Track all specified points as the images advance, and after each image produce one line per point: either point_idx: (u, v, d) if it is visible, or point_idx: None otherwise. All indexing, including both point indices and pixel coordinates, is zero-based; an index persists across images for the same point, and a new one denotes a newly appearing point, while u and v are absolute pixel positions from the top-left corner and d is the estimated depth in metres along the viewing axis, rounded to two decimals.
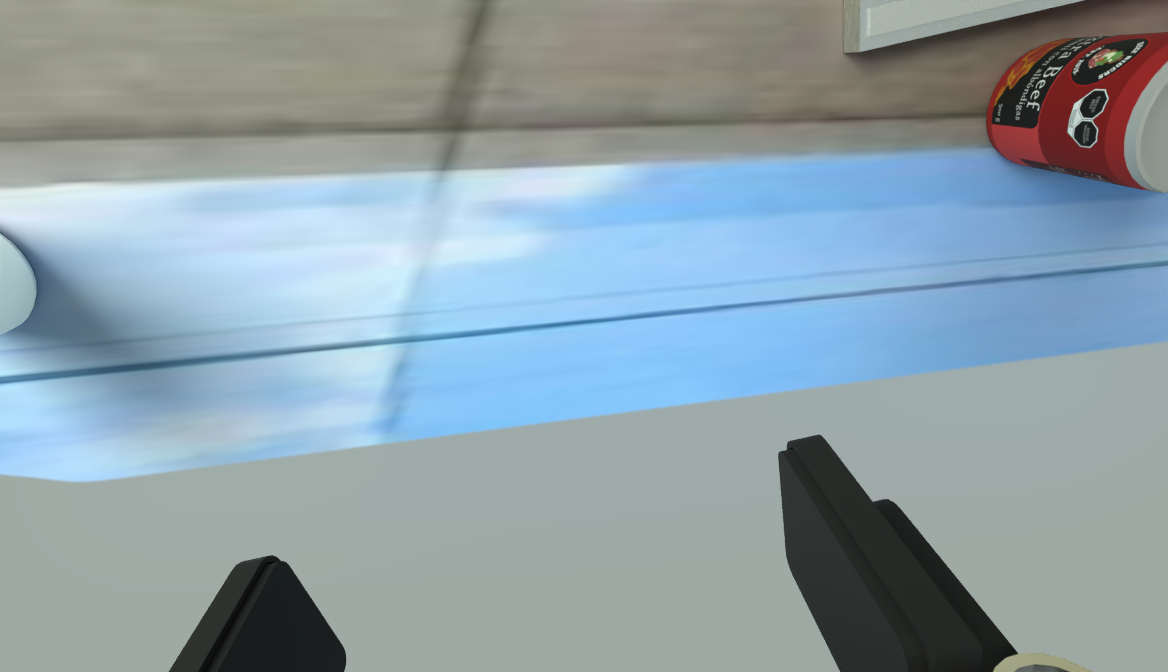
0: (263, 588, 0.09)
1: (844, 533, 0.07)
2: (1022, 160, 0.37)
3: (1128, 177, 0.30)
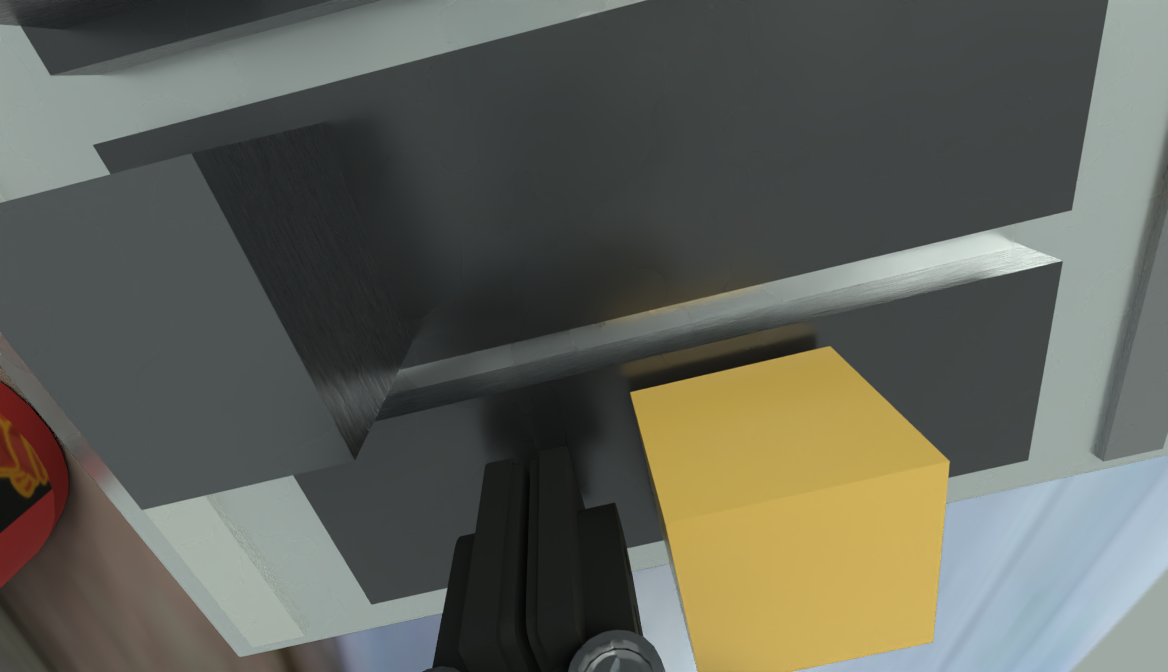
0: (522, 481, 0.10)
1: (535, 532, 0.09)
2: None
3: None
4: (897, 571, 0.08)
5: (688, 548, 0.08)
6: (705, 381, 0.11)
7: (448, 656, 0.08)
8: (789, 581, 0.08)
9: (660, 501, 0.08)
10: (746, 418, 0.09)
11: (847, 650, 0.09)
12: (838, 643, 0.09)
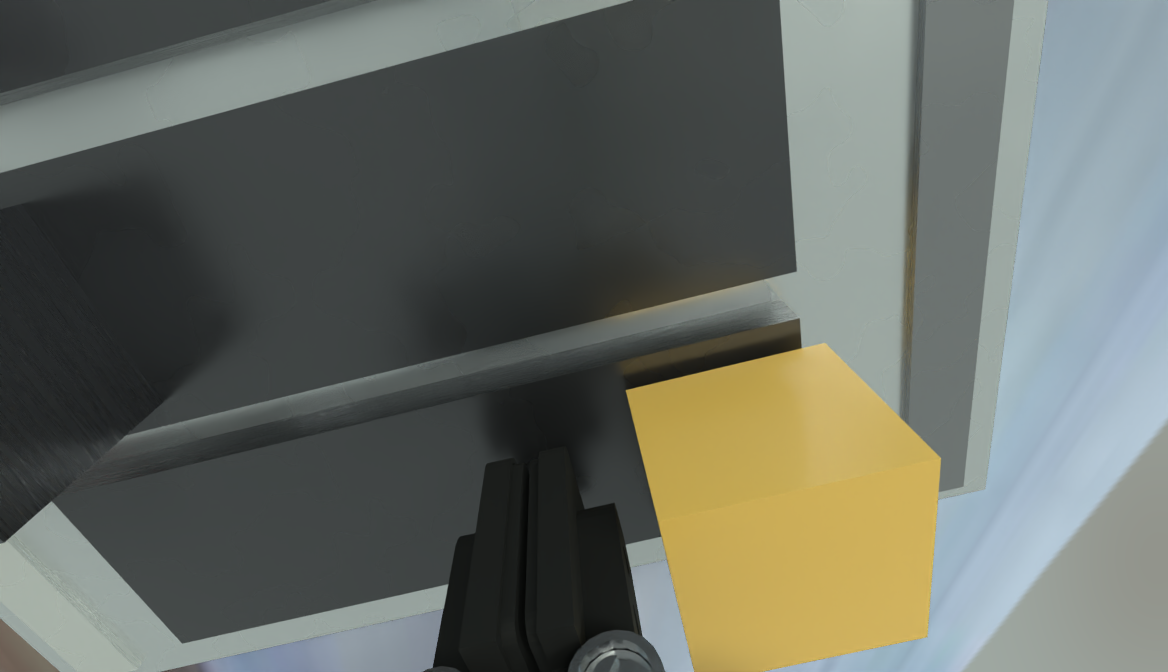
0: (522, 481, 0.10)
1: (534, 532, 0.09)
2: None
3: None
4: (890, 567, 0.08)
5: (681, 546, 0.08)
6: (700, 379, 0.11)
7: (448, 656, 0.08)
8: (782, 577, 0.08)
9: (653, 499, 0.08)
10: (740, 416, 0.09)
11: (841, 645, 0.09)
12: (832, 639, 0.09)
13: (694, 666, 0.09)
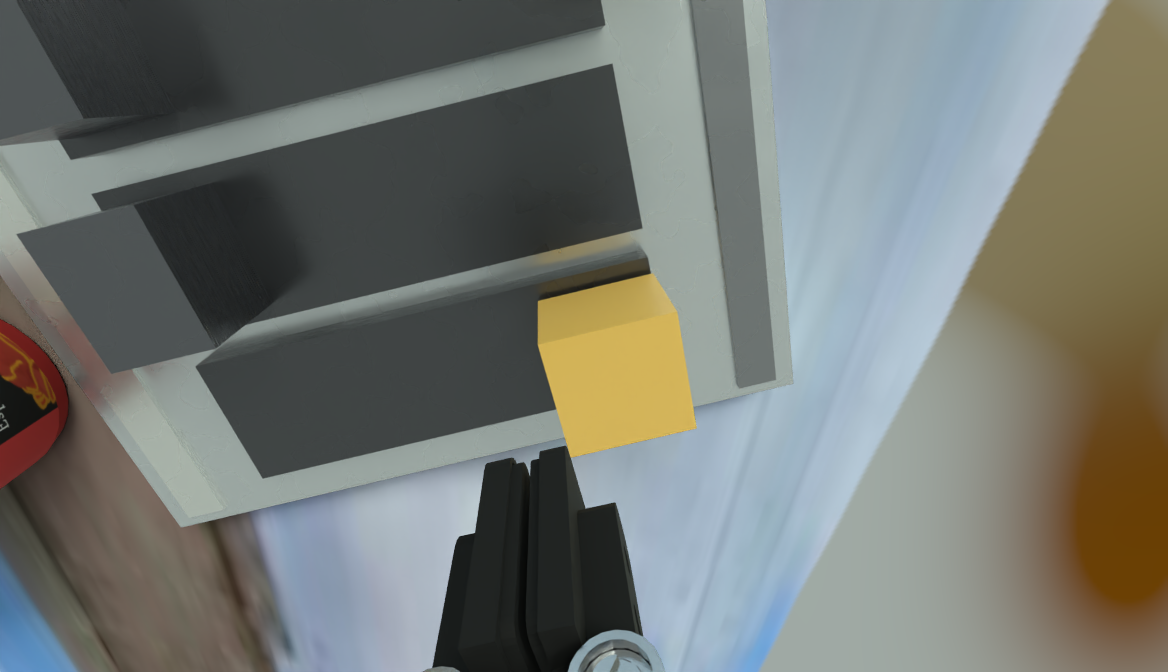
0: (522, 481, 0.10)
1: (535, 532, 0.09)
2: None
3: None
4: (665, 378, 0.16)
5: (550, 360, 0.15)
6: (580, 293, 0.18)
7: (448, 656, 0.08)
8: (607, 383, 0.16)
9: (538, 338, 0.16)
10: (593, 305, 0.17)
11: (648, 432, 0.17)
12: (642, 426, 0.17)
13: (567, 444, 0.17)
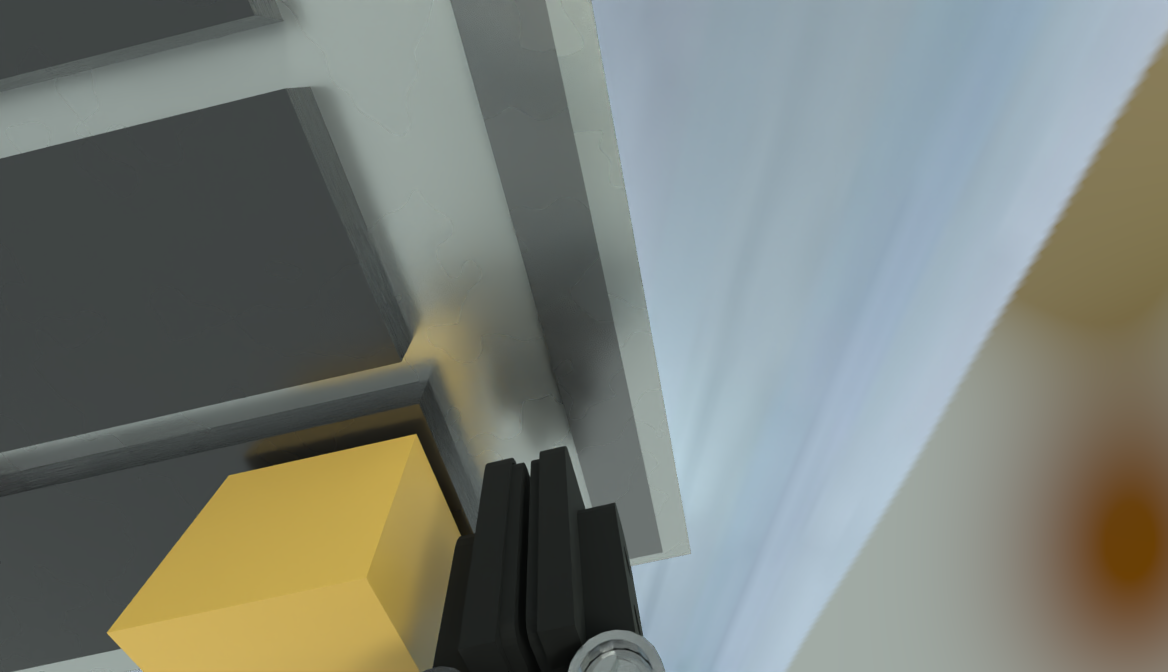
0: (522, 481, 0.10)
1: (535, 532, 0.09)
2: None
3: None
4: (374, 670, 0.09)
5: (144, 653, 0.08)
6: (292, 467, 0.11)
7: (448, 656, 0.08)
8: None
9: (128, 606, 0.08)
10: (278, 514, 0.10)
11: None
12: None
13: None
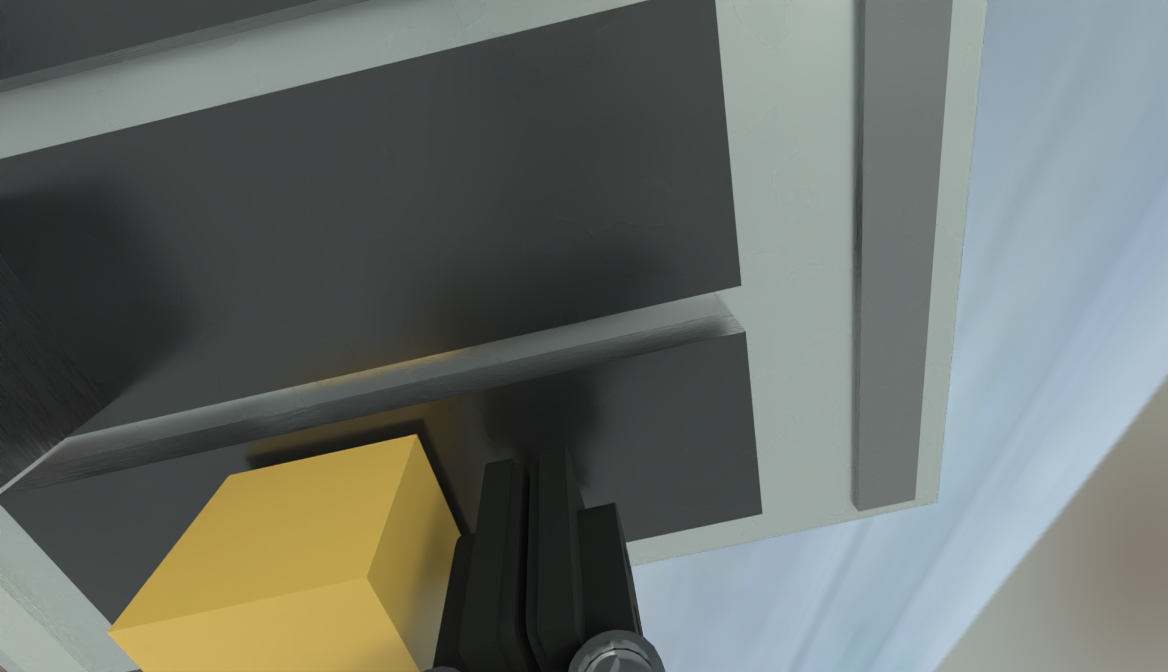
0: (522, 481, 0.10)
1: (535, 532, 0.09)
2: None
3: None
4: (375, 670, 0.09)
5: (143, 653, 0.08)
6: (292, 467, 0.11)
7: (448, 656, 0.08)
8: None
9: (128, 605, 0.08)
10: (278, 514, 0.10)
11: None
12: None
13: None
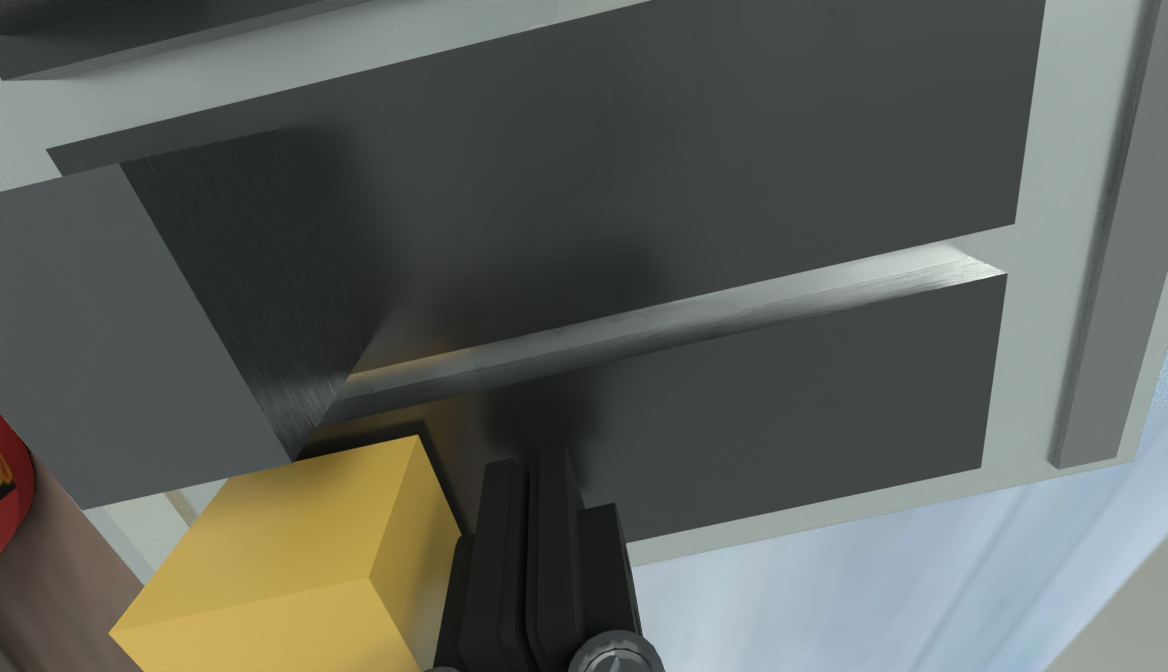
0: (522, 481, 0.10)
1: (535, 532, 0.09)
2: None
3: None
4: (376, 671, 0.09)
5: (145, 654, 0.08)
6: (293, 468, 0.11)
7: (448, 656, 0.08)
8: None
9: (130, 606, 0.08)
10: (279, 515, 0.10)
11: None
12: None
13: None
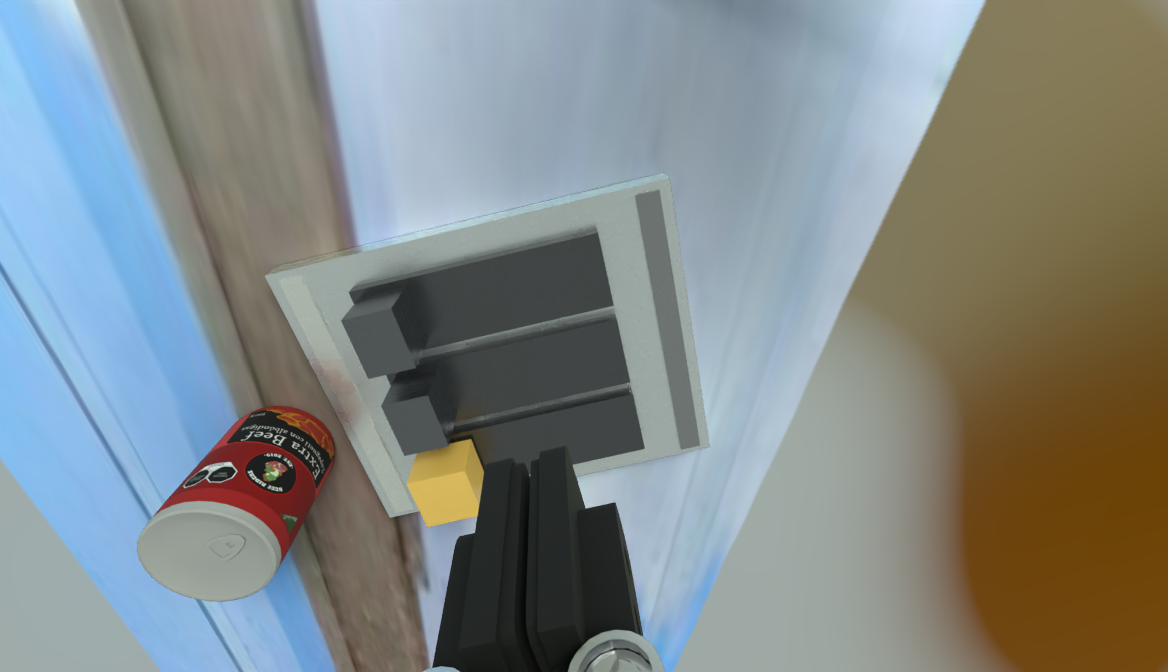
0: (522, 481, 0.10)
1: (535, 532, 0.09)
2: None
3: (148, 522, 0.32)
4: (464, 495, 0.37)
5: (413, 489, 0.36)
6: None
7: (448, 656, 0.08)
8: (439, 497, 0.37)
9: (408, 479, 0.37)
10: (437, 459, 0.38)
11: (461, 516, 0.38)
12: (458, 514, 0.38)
13: (425, 521, 0.38)
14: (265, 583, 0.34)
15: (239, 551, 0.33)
